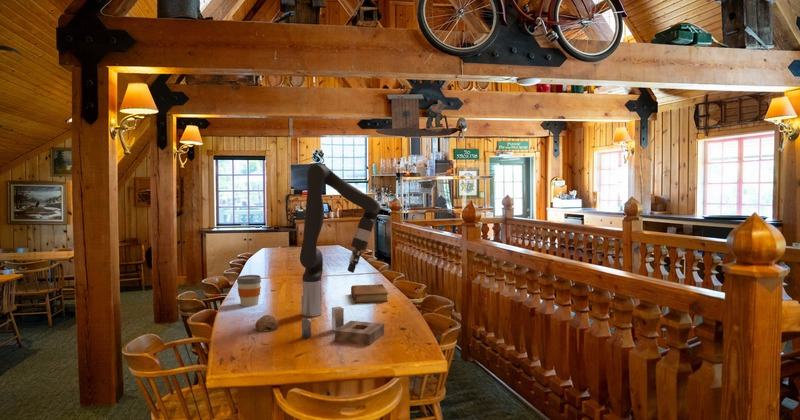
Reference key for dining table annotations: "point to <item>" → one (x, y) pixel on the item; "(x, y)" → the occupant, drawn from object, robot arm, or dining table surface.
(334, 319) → the square bit
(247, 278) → the reusable coffee cup
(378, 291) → the diary
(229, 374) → the dining table surface
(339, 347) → the dining table surface
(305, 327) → the round bit
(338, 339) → the socket block
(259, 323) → the bread roll
